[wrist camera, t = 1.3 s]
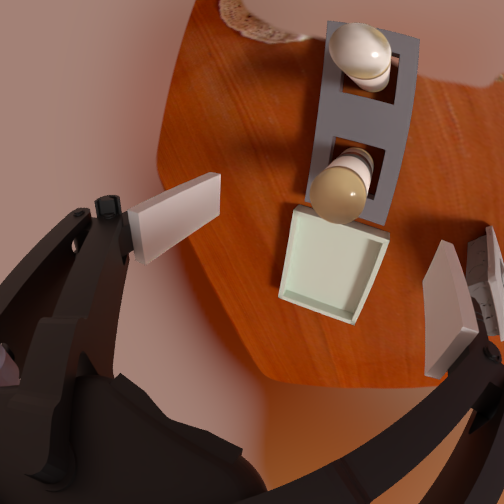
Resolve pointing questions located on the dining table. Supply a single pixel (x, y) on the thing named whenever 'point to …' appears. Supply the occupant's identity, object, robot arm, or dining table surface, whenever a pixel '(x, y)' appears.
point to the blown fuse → (343, 186)
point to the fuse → (362, 55)
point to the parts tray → (331, 264)
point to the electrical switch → (487, 280)
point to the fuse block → (367, 120)
